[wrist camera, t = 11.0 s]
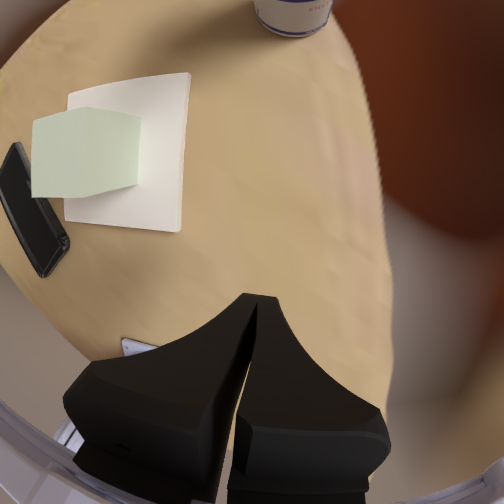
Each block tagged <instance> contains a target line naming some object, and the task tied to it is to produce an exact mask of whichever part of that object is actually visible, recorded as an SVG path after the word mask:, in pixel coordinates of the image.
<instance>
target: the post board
mask: <svg viewBox="0 0 504 504" xmlns="http://www.w3.org/2000/svg"><path fill="white" fill-rule="evenodd" d="M191 77H192V75H191V74H190V73H188V72H185V73H174V74H164V75H156V76H148V77H142V78H135V79H129V80H124V81H119V82H114V83H109V84H104V85H100V86H96V87H92V88H88V89H84V90H80V91H77V92H73V93H70V94H69V97H68V104H67V111H68V110H72V109H76V108H81V107H85V106H87V107H93V108H99V109H104V110H110V111H115V112H120V113H125V114H130V115H134V116H139V117H142V121H141V133H140V148H139V169H138V184H137V185H133V186H128V187H124V188H120V189H116V190H111V191H107V192H103V193H99V194H96V195H92V196H88V197H84V198H64V213H65V221H71V222H82V223H92V224H102V225H112V226H121V227H131V228H141V229H150V230H159V231H169V232H179V231H180V230H181V210H182V182H183V163H184V148H185V135H186V123H187V112H188V103H189V94H190V85H191Z"/></svg>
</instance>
